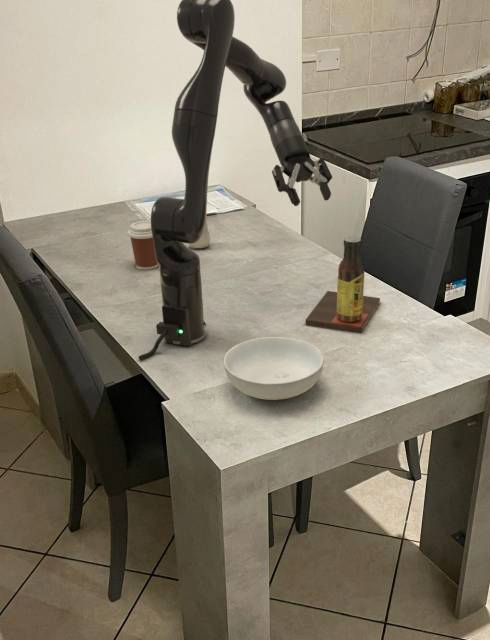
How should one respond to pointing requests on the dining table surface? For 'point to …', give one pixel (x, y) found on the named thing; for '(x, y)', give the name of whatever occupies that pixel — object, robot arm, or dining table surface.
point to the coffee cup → (143, 245)
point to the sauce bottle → (350, 282)
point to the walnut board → (327, 314)
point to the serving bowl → (273, 367)
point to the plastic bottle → (203, 237)
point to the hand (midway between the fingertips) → (313, 201)
